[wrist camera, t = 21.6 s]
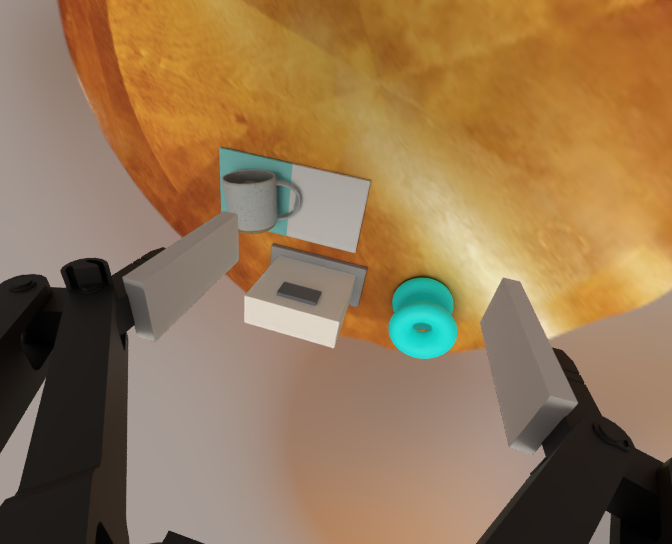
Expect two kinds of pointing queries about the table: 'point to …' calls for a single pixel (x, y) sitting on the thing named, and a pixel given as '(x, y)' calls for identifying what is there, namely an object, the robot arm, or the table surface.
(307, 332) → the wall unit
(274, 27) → the table surface
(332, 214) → the mat
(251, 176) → the ceramic mug
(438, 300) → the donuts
